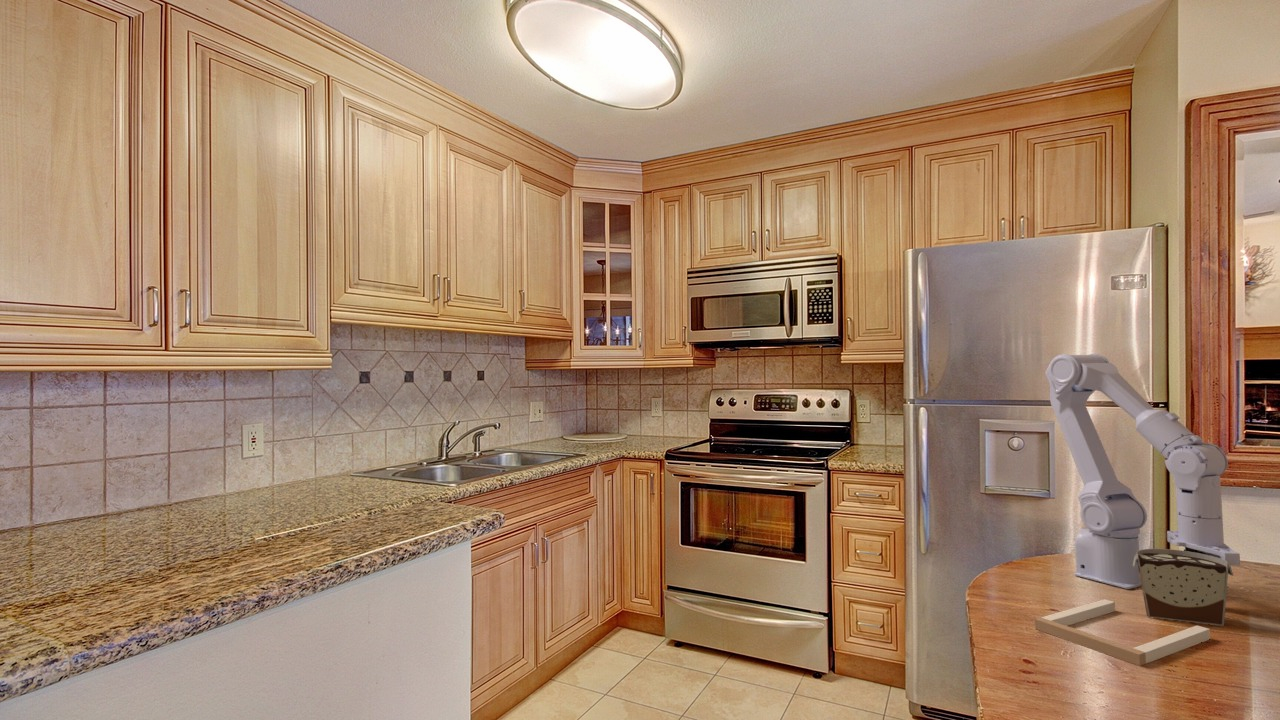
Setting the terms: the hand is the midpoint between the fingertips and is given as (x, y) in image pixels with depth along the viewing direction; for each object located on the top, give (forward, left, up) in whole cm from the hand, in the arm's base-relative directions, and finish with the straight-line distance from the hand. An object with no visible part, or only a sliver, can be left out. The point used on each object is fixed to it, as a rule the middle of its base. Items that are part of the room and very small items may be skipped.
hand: (1203, 596), depth 103 cm
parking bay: (0, -24, -2) cm, 24 cm away
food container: (0, -8, -2) cm, 8 cm away
